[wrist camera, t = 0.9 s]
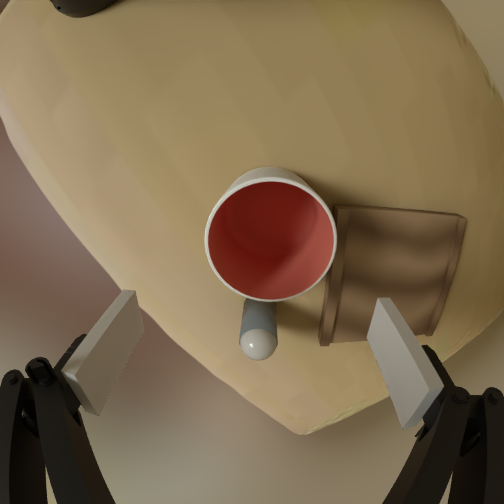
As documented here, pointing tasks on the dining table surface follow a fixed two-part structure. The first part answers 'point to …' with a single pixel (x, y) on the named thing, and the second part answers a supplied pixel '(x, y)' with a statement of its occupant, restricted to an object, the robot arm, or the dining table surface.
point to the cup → (270, 236)
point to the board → (388, 268)
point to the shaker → (258, 329)
